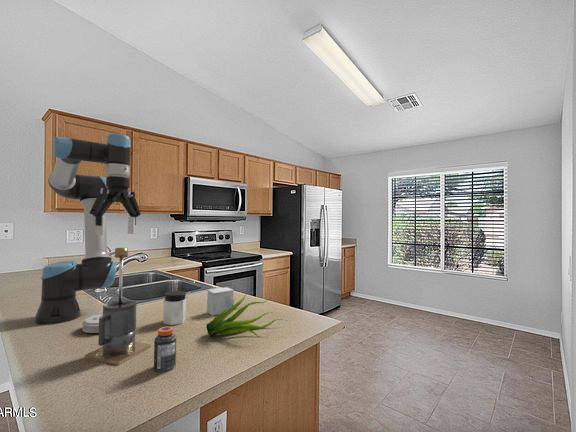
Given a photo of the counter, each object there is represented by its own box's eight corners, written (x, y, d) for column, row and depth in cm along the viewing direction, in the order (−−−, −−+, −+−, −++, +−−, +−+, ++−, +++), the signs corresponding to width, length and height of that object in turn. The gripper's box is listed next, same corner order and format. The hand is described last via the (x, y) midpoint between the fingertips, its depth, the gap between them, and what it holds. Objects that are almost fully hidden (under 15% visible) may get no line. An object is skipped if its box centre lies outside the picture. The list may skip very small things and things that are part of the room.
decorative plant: (285, 343, 107) (286, 301, 107) (203, 339, 109) (204, 298, 109) (288, 325, 125) (288, 289, 125) (217, 322, 127) (218, 287, 127)
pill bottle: (157, 362, 91) (158, 324, 91) (178, 362, 91) (179, 324, 91) (150, 372, 85) (151, 332, 85) (172, 372, 85) (173, 332, 85)
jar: (165, 326, 120) (166, 296, 120) (161, 320, 127) (162, 292, 127) (188, 322, 125) (189, 293, 125) (183, 317, 132) (183, 289, 132)
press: (83, 359, 92) (84, 307, 92) (119, 341, 105) (120, 296, 105) (116, 366, 88) (118, 312, 88) (150, 347, 101) (151, 300, 101)
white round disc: (115, 321, 126) (115, 309, 126) (124, 329, 117) (125, 316, 117) (78, 328, 117) (79, 315, 117) (86, 338, 108) (86, 324, 108)
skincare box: (213, 316, 134) (213, 292, 134) (206, 312, 139) (206, 289, 139) (233, 311, 141) (234, 289, 141) (226, 308, 146) (227, 286, 146)
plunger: (110, 305, 96) (112, 248, 96) (120, 302, 99) (121, 247, 99) (119, 306, 95) (121, 249, 95) (129, 303, 98) (130, 248, 98)
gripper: (95, 171, 98) (94, 236, 98) (151, 180, 122) (149, 233, 122) (78, 171, 101) (76, 235, 100) (135, 181, 124) (134, 232, 124)
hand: (116, 234), depth 111 cm, fingers open, 13 cm apart
